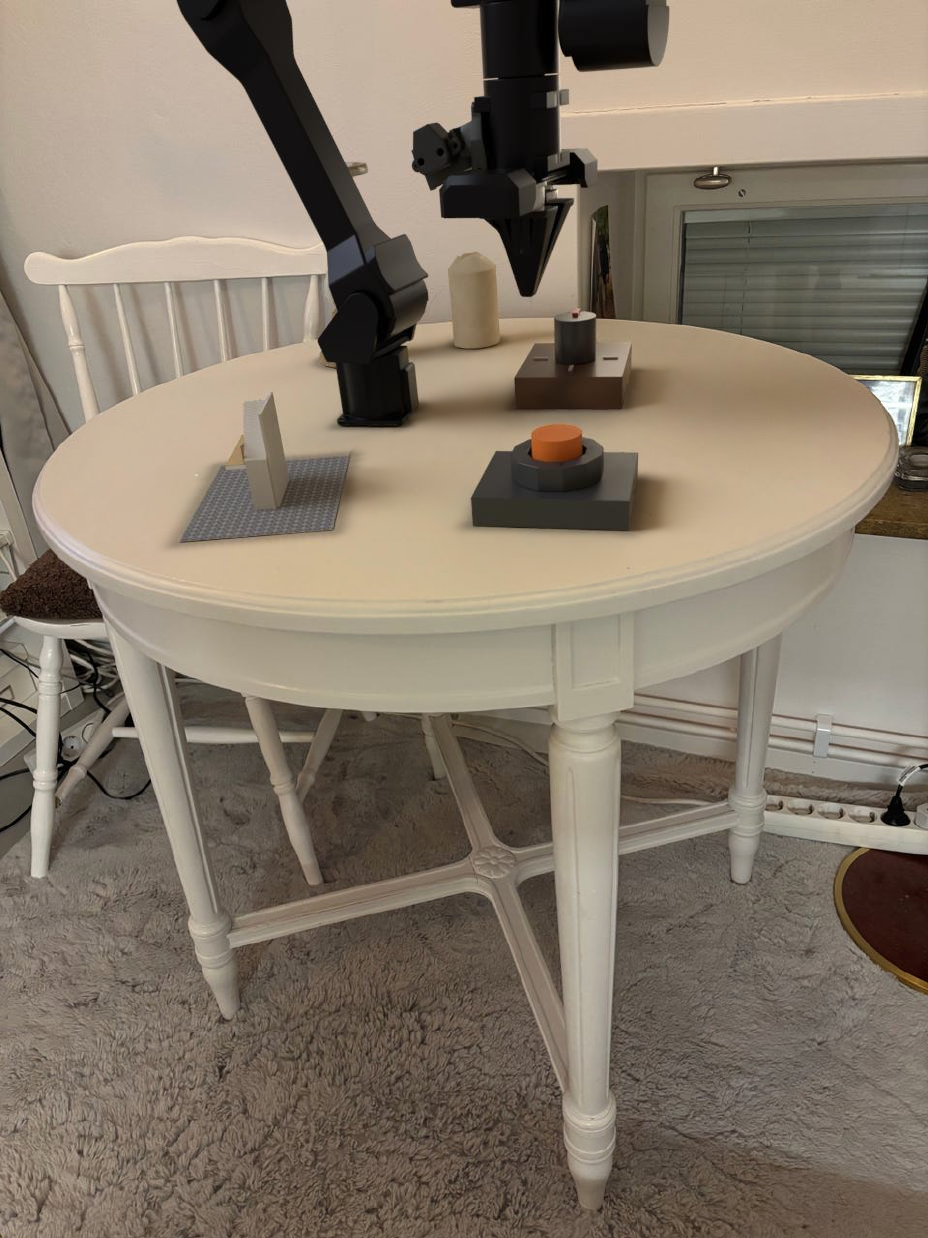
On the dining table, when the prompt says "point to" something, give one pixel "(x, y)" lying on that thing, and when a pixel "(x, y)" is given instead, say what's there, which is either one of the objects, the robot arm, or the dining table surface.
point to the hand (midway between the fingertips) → (528, 295)
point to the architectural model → (268, 486)
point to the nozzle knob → (575, 337)
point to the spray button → (556, 443)
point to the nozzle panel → (574, 379)
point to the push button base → (557, 490)
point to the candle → (474, 301)
